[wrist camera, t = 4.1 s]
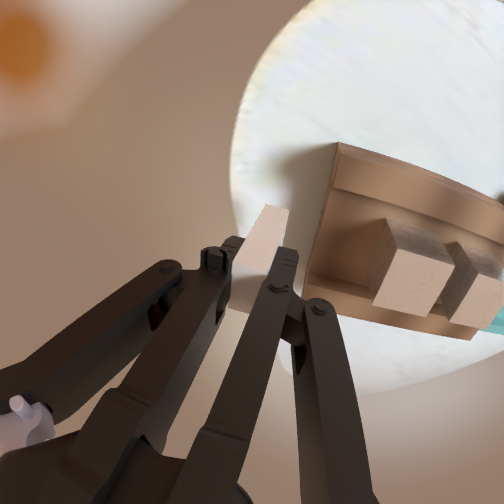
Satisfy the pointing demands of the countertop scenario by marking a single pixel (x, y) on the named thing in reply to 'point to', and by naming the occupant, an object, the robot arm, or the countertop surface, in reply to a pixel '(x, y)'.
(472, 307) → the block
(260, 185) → the countertop surface
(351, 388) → the robot arm
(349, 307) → the groove board
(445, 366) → the countertop surface
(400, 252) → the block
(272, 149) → the countertop surface
